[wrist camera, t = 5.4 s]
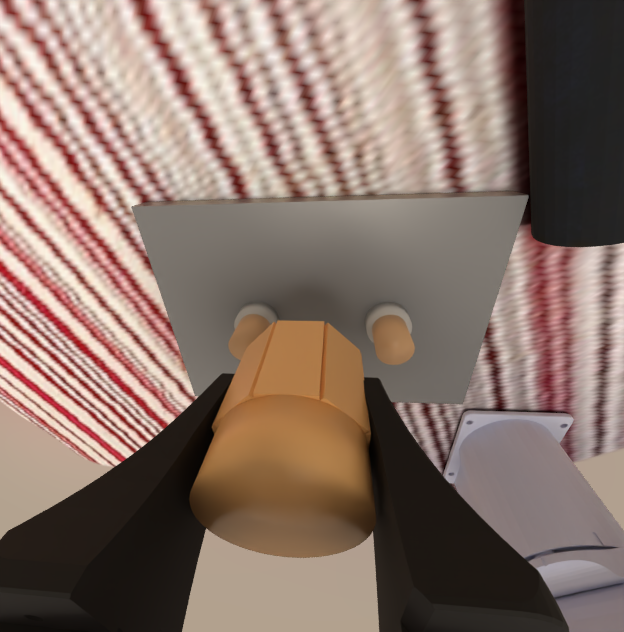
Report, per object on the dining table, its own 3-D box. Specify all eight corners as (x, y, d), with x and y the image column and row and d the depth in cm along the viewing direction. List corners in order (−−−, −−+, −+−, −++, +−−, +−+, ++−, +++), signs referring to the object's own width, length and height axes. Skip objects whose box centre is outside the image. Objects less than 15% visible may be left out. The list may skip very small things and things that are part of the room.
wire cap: (356, 409, 14) (369, 563, 9) (255, 405, 14) (211, 551, 9) (363, 321, 11) (385, 466, 6) (240, 319, 12) (166, 455, 7)
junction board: (455, 388, 22) (480, 440, 18) (203, 382, 24) (176, 428, 20) (512, 191, 15) (573, 206, 11) (147, 201, 17) (89, 218, 13)
